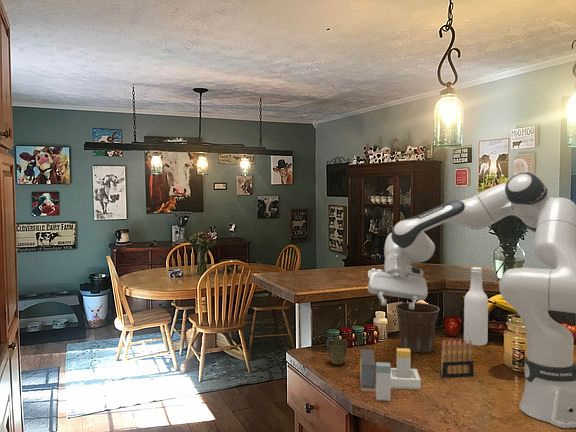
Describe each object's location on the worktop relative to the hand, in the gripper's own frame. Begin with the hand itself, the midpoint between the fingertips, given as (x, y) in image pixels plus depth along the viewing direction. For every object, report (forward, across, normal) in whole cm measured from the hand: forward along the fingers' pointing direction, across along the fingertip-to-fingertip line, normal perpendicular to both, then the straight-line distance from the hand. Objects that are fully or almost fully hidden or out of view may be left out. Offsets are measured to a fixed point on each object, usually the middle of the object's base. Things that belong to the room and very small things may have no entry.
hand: (397, 306), depth 164 cm
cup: (+15, -17, +19) cm, 30 cm away
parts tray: (+24, +2, +5) cm, 25 cm away
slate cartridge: (+32, -6, -3) cm, 33 cm away
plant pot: (0, +14, +29) cm, 33 cm away
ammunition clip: (+18, +21, +8) cm, 29 cm away
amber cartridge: (+24, +2, +4) cm, 24 cm away
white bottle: (-8, +39, +33) cm, 52 cm away
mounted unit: (+24, -8, +7) cm, 27 cm away
